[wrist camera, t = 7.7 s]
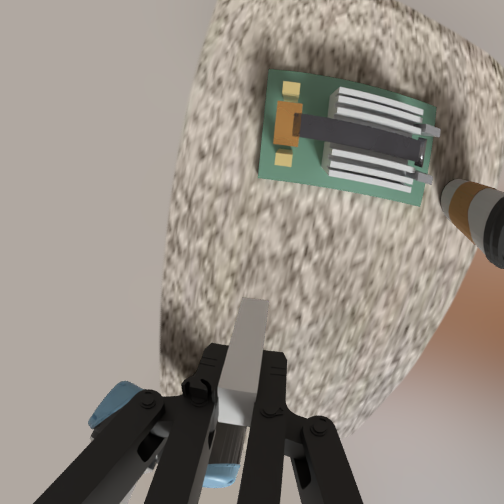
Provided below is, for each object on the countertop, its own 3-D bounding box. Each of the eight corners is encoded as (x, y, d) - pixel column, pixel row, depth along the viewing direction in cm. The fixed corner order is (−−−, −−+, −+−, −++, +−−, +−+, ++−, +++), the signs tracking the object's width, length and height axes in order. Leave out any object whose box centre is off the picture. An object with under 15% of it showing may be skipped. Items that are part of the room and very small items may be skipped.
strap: (425, 134, 23) (429, 134, 22) (419, 172, 25) (423, 173, 24) (277, 101, 24) (277, 100, 23) (273, 143, 26) (273, 143, 25)
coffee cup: (481, 209, 31) (541, 249, 17) (444, 236, 34) (498, 288, 20) (464, 161, 28) (533, 186, 15) (425, 188, 31) (487, 226, 18)
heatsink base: (432, 107, 26) (469, 105, 18) (416, 204, 33) (447, 227, 24) (269, 70, 28) (261, 51, 20) (258, 176, 34) (248, 191, 26)
